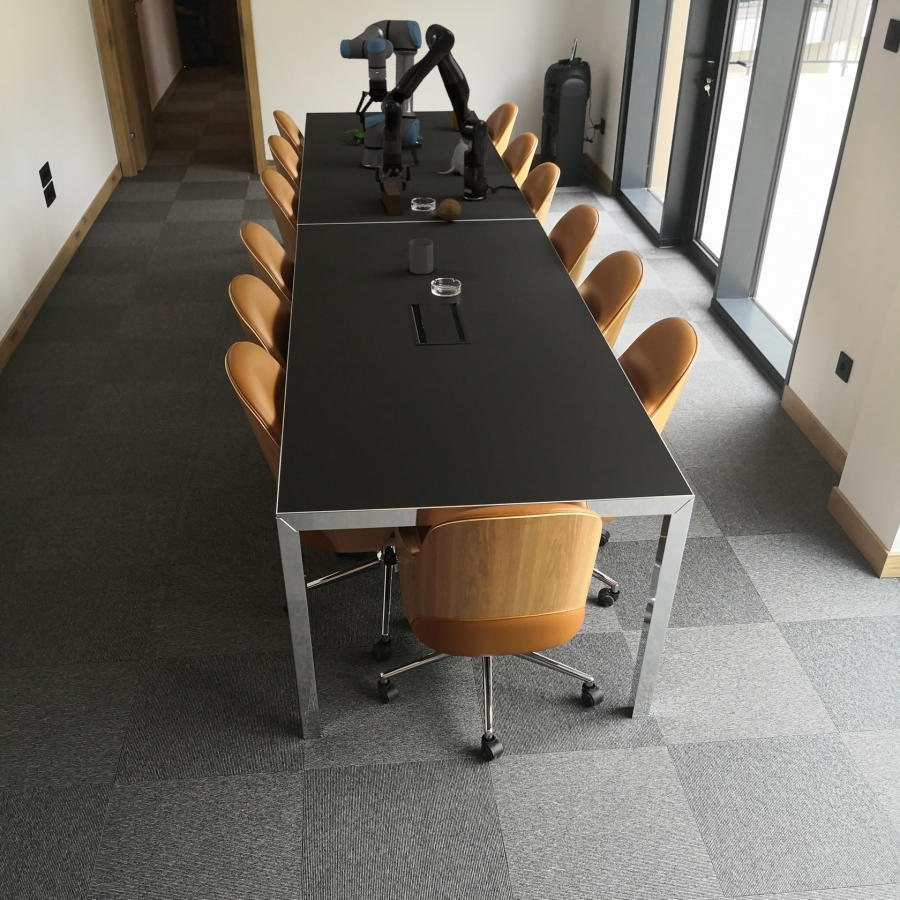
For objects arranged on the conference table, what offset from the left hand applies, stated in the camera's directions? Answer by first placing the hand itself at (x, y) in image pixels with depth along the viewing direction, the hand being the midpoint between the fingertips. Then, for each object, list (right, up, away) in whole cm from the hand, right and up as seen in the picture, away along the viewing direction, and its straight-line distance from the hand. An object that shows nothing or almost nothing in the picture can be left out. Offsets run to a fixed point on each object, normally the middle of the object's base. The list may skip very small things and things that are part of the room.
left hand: (379, 130), depth 378 cm
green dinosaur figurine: (-12, +26, +88) cm, 93 cm away
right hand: (+7, -32, -19) cm, 38 cm away
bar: (+6, -35, -7) cm, 36 cm away
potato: (+30, -45, -23) cm, 59 cm away
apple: (+37, +41, +112) cm, 125 cm away
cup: (+21, -75, -70) cm, 105 cm away
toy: (+33, -9, +34) cm, 48 cm away
